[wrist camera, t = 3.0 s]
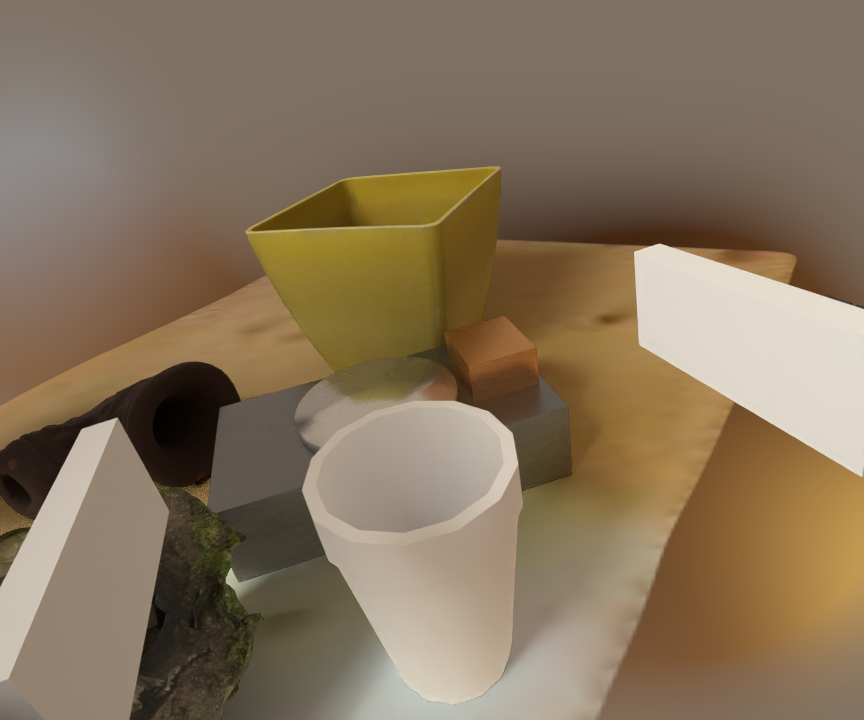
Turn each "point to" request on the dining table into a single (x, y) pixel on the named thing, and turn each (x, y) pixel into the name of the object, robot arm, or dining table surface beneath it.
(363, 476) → the foam cup
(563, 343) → the dining table surface
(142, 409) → the pipe
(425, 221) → the flower pot
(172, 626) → the moss-covered rock
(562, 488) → the dining table surface
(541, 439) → the block
